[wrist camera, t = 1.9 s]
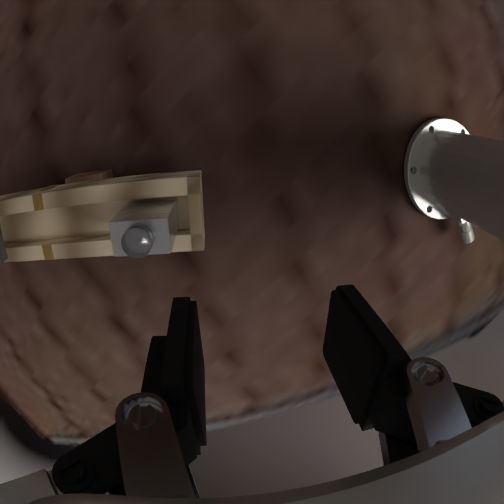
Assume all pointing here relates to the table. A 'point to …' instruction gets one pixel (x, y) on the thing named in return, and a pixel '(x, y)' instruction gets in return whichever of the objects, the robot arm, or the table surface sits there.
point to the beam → (93, 214)
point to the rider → (145, 228)
